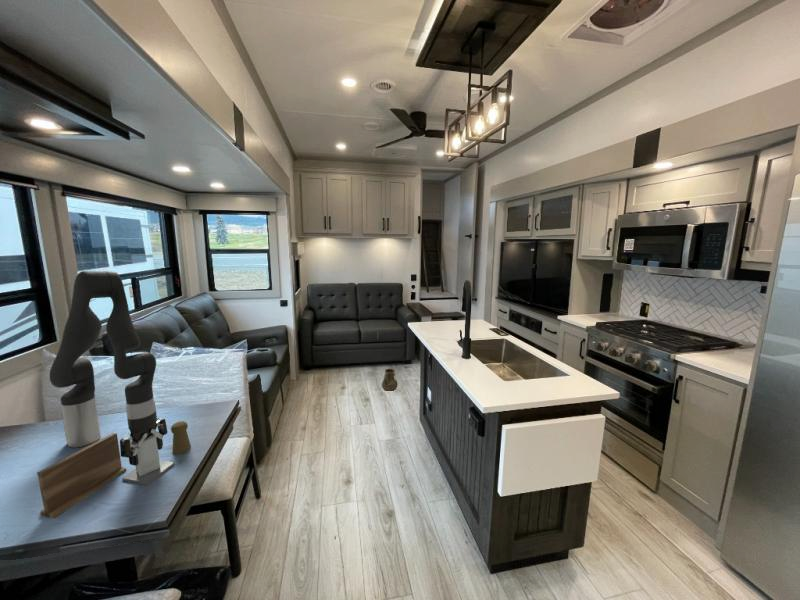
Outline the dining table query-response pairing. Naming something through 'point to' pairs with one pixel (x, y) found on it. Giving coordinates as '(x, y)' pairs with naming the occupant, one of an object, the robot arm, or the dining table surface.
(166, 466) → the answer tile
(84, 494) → the walnut screen
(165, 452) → the dining table surface
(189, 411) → the dining table surface
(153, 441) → the skincare box
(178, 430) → the olive stepped cylinder
